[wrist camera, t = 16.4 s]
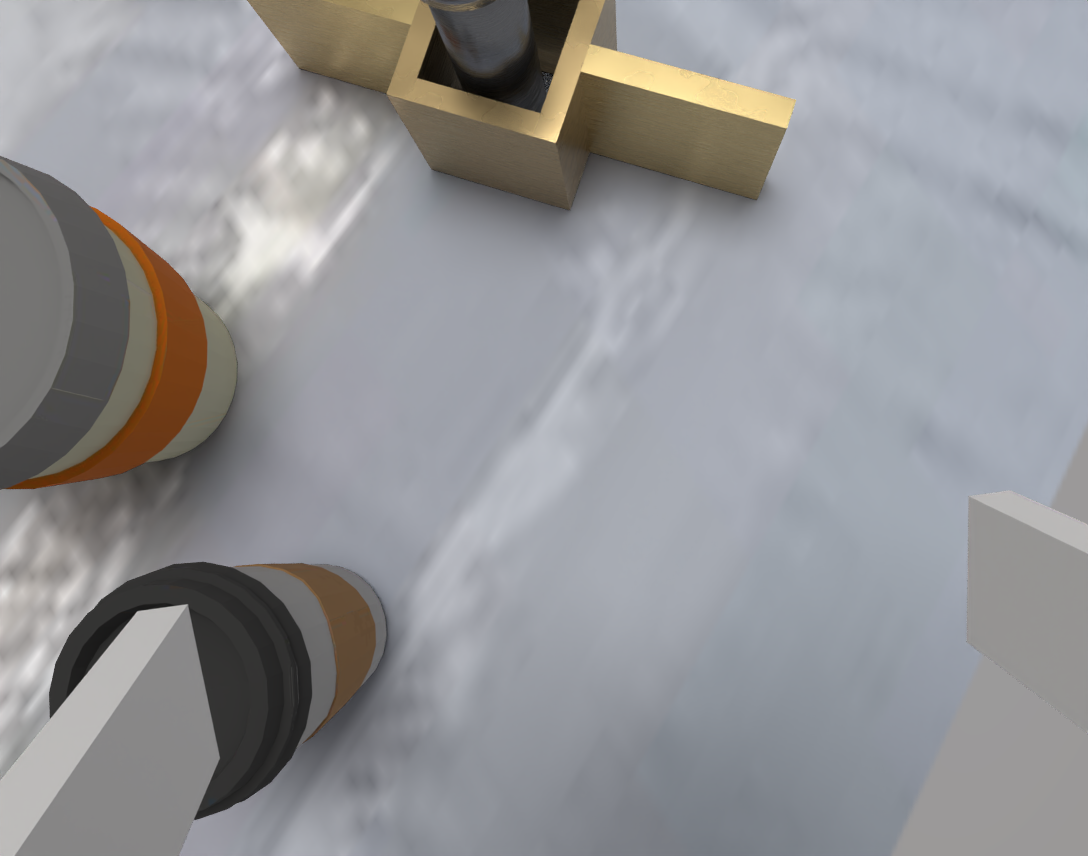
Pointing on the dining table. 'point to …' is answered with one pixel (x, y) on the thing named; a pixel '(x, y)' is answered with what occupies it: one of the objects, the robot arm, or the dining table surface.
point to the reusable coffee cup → (96, 343)
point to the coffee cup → (250, 656)
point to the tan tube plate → (570, 106)
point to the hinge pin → (492, 49)
